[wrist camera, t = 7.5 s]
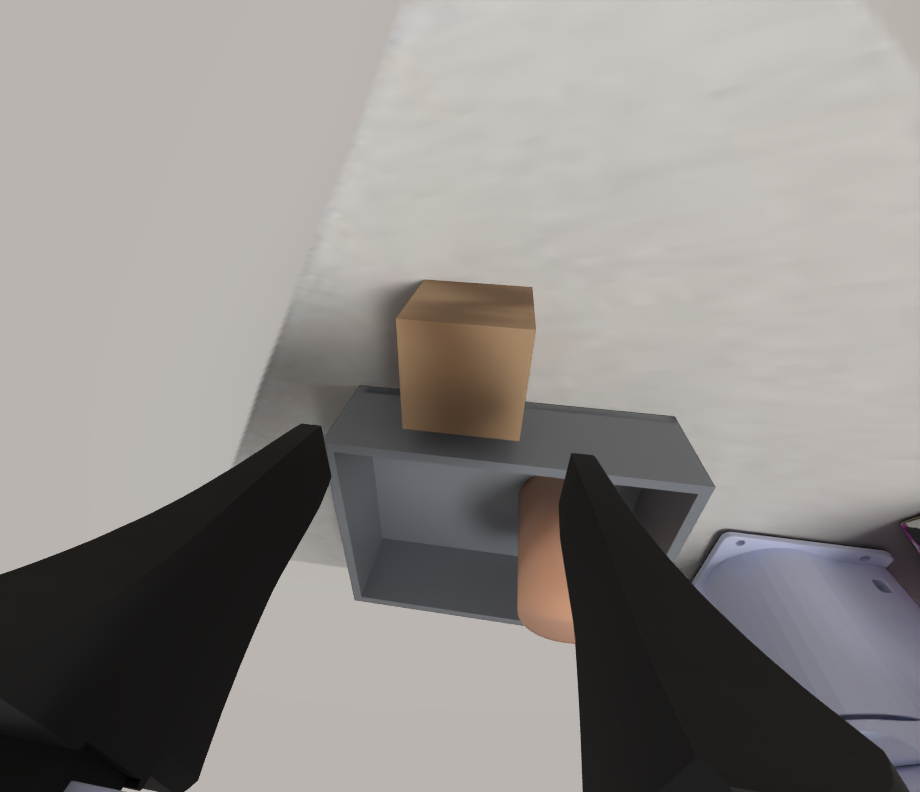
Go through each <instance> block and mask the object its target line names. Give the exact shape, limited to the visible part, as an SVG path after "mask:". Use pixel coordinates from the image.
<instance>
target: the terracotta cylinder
mask: <svg viewBox="0 0 920 792" xmlns="http://www.w3.org/2000/svg"><path fill="white" fill-rule="evenodd" d="M564 480H565V479H562V478H554V477H545V476H536V475H535V476H533V477H531V478H530V479H528V480H527V481H526V482H525V483H524V484H523V486H522V487H521V489H520V491H519V495H518V603H517V611H518V617H519V619H520V621H521V622H522V623H523V625H524V626H525V627H526V628H528V629H529V630H530V631H532V632H533V633H535V634H537V635H539V636H541V637H544V638H547V639H550V640H553V641H558V642H563V643H573V644H575V635H574V626H573V618H572V612H571V606H570V600H569V593H568V587H567V581H566V575H565V568H564V562H563V555H562V549H561V542H560V530H559V500H560V496H561V492H562V488H563V484H564Z"/></svg>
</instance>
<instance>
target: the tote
mask: <svg viewBox="0 0 920 792" xmlns="http://www.w3.org/2000/svg"><path fill="white" fill-rule="evenodd" d="M324 442H325V447H326V452H327V456H328V461H329V466H330V471H331V476H332V477H331V480H330V486H331V491H332V495H333V500H334V505H335V509H336V514H337V519H338V524H339V528H340V533H341V538H342V542H343V547H344V552H345V557H346V561H347V566H348V571H349V575H350V580H351V585H352V590H353V594H354V599H355V600H357V601H364V602H371V603H377V604H384V605H390V606H397V607H403V608H411V609H417V610H423V611H430V612H436V613H444V614H450V615H456V616H463V617H469V618H476V619H483V620H490V621H496V622H502V623H509V624H515V625H522V626H524V625H523V623H522V622H521V621H520V619H519V617H518V611H517V603H518V495H519V491H520V489H521V487H522V486H523V484H524V483H525V482H526V481H527V480H528V479H530V478H531V477H533V476H535V475H536V476H545V477H554V478H562V479H565V476H566V472H567V468H568V464H569V460H570V456H571V453H579V454H588V455H594V456H595V457H596V458H597V460H598V461H599V463H600V464H601V466H602V468H603V469H604V471H605V472H606V474H607V475H608V477H609V478H610V480H611V481H612V483H613V484H614V486H615V487H616V489H617V490H618V492H619V493H620V495H621V496H622V498H623V499H624V501H625V502H626V503H627V505H628V506H629V508H630V509H631V510H632V512H633V513H634V514H635V516H636V517H637V518H638V520H639V521H640V523H641V524H642V525H643V526H644V528H645V529H646V530H647V532H648V533H649V534H650V536H651V537H652V538H653V539H654V540H655V542H656V543H657V544H658V545H659V547H660V548H661V549H662V550H663V552H664V553H665V554H666V555H667V556H668V557H669V559H670V560H671V561H672V562H673V563H674V561H675V560H676V558H677V556H678V554H679V552H680V551H681V549H682V547H683V545H684V543H685V541H686V540H687V538H688V536H689V534H690V532H691V531H692V529H693V527H694V525H695V523H696V522H697V520H698V518H699V516H700V514H701V513H702V511H703V509H704V507H705V505H706V503H707V502H708V500H709V498H710V496H711V494H712V493H713V491H714V489H715V485H714V484H713V482H712V480H711V479H710V477H709V475H708V473H707V472H706V470H705V468H704V466H703V465H702V463H701V461H700V459H699V458H698V456H697V454H696V452H695V451H694V449H693V447H692V445H691V444H690V442H689V440H688V438H687V437H686V435H685V433H684V432H683V430H682V428H681V426H680V425H679V423H678V421H677V419H676V418H675V417H672V416H662V415H651V414H641V413H631V412H621V411H611V410H601V409H590V408H580V407H570V406H560V405H550V404H540V403H529V402H525V406H524V413H523V420H522V426H521V433H520V440H519V441H513V440H503V439H494V438H485V437H476V436H466V435H457V434H448V433H439V432H429V431H420V430H411V429H403V428H402V411H401V395H400V390H397V389H387V388H377V387H367V386H359V387H358V389H357V390H356V392H355V393H354V395H353V396H352V398H351V399H350V401H349V402H348V404H347V405H346V407H345V408H344V410H343V411H342V413H341V414H340V416H339V417H338V419H337V420H336V421H335V423H334V424H333V426H332V427H331V429H330V430H329V432H328V433H327V435H326V436H325V438H324Z"/></svg>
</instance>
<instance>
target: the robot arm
mask: <svg viewBox="0 0 920 792" xmlns="http://www.w3.org/2000/svg"><path fill="white" fill-rule="evenodd" d="M331 477H332V476H331V471H330V466H329V461H328V456H327V452H326V447H325V442H324V437H323V432H322V428H321V426H318V425H309V424H300V425H298V426H297V427H295V428H293V429H292V430H290V431H289V432H287V433H285V434H284V435H282V436H281V437H279V438H278V439H276V440H275V441H273V442H272V443H270V444H269V445H267V446H266V447H264V448H263V449H261V450H260V451H258V452H256V453H255V454H253V455H252V456H250V457H249V458H247V459H246V460H244V461H243V462H241V463H239V464H238V465H236V466H235V467H233V468H232V469H230V470H228V471H226V472H225V473H223V474H221V475H220V476H218V477H217V478H215V479H213V480H211V481H210V482H208V483H207V484H205V485H203V486H202V487H200V488H198V489H196V490H195V491H193V492H191V493H189V494H187V495H186V496H184V497H182V498H180V499H178V500H176V501H174V502H173V503H171V504H169V505H167V506H165V507H163V508H161V509H159V510H157V511H155V512H153V513H151V514H149V515H147V516H144V517H143V518H140V519H138V520H136V521H134V522H131V523H129V524H127V525H125V526H122V527H120V528H118V529H116V530H114V531H111V532H110V533H107V534H105V535H102V536H100V537H98V538H96V539H93V540H91V541H89V542H86V543H83V544H81V545H79V546H76V547H74V548H71V549H69V550H66V551H64V552H61V553H58V554H56V555H53V556H50V557H48V558H46V559H43V560H40V561H38V562H35V563H32V564H29V565H27V566H24V567H21V568H18V569H15V570H12V571H9V572H6V573H3V574H1V575H0V792H124V791H121V789H122V788H123V787H124V788H129V789H133V790H138V791H140V790H141V789H142V788H143V789H147V790H152V791H157V792H184V791H186V790H187V789H189V788H190V787H191V786H192V785H193V784H194V783H196V782H197V781H198V779H199V776H200V773H201V770H202V767H203V764H204V761H205V758H206V755H207V753H208V750H209V747H210V744H211V741H212V738H213V736H214V733H215V730H216V727H217V725H218V722H219V719H220V716H221V713H222V711H223V708H224V706H225V703H226V700H227V698H228V695H229V692H230V690H231V688H232V685H233V682H234V680H235V677H236V675H237V672H238V669H239V667H240V665H241V662H242V660H243V657H244V655H245V653H246V650H247V648H248V645H249V643H250V641H251V639H252V636H253V634H254V631H255V629H256V627H257V624H258V622H259V620H260V617H261V616H262V613H263V611H264V609H265V607H266V604H267V602H268V600H269V598H270V596H271V593H272V591H273V589H274V587H275V586H276V584H277V582H278V580H279V578H280V576H281V574H282V572H283V571H284V569H285V567H286V565H287V564H288V562H289V560H290V559H291V557H292V555H293V553H294V552H295V550H296V548H297V546H298V545H299V543H300V541H301V539H302V538H303V536H304V534H305V532H306V531H307V529H308V527H309V525H310V523H311V522H312V520H313V518H314V516H315V514H316V513H317V511H318V509H319V507H320V505H321V502H322V500H323V497H324V495H325V493H326V490H327V487H328V485H329V482H330V480H331ZM559 530H560V542H561V549H562V555H563V562H564V568H565V575H566V581H567V587H568V593H569V600H570V606H571V612H572V618H573V626H574V635H575V645H576V660H577V676H578V693H579V711H580V732H581V753H582V754H581V755H582V780H583V781H582V782H583V792H920V607H919V606H918V605H917V603H916V602H915V601H914V600H913V599H912V598H911V596H910V595H909V594H908V593H907V592H906V591H905V590H904V588H903V587H902V586H901V585H900V584H899V583H898V582H897V580H896V579H895V578H894V577H893V576H892V575H891V573H890V572H889V571H888V570H887V569H886V567H887V566H888V565H889V564H891V563H892V561H893V560H894V559H893V557H892V556H891V554H890V553H889V552H887V551H883V550H875V549H867V548H859V547H850V546H842V545H834V544H826V543H818V542H810V541H802V540H794V539H785V538H777V537H769V536H761V535H753V534H745V533H737V532H726V533H724V534H722V535H721V536H720V538H719V540H718V541H717V543H716V544H715V546H714V548H713V549H712V551H711V552H710V554H709V556H708V557H707V559H706V560H705V562H704V564H703V565H702V567H701V568H700V570H699V572H698V573H697V575H696V576H695V578H694V580H693V581H692V583H691V582H690V581H689V580H688V579H687V578H686V577H685V576H684V575H683V573H682V572H681V571H680V570H679V569H678V568H677V567H676V566H675V564H674V563H673V562H672V561H671V560H670V559H669V557H668V556H667V555H666V554H665V553H664V552H663V550H662V549H661V548H660V547H659V545H658V544H657V543H656V542H655V540H654V539H653V538H652V537H651V536H650V534H649V533H648V532H647V530H646V529H645V528H644V526H643V525H642V524H641V523H640V521H639V520H638V518H637V517H636V516H635V514H634V513H633V512H632V510H631V509H630V508H629V506H628V505H627V503H626V502H625V501H624V499H623V498H622V496H621V495H620V493H619V492H618V490H617V489H616V487H615V486H614V484H613V483H612V481H611V480H610V478H609V477H608V475H607V474H606V472H605V471H604V469H603V468H602V466H601V464H600V463H599V461H598V460H597V458H596V457H595V456H594V455H588V454H579V453H571V456H570V460H569V464H568V468H567V472H566V476H565V480H564V484H563V488H562V492H561V496H560V500H559Z"/></svg>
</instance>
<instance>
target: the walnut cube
mask: <svg viewBox="0 0 920 792" xmlns="http://www.w3.org/2000/svg"><path fill="white" fill-rule="evenodd" d="M396 331H397V347H398V363H399V379H400V395H401V411H402V428H403V429H411V430H420V431H429V432H439V433H448V434H457V435H466V436H476V437H485V438H494V439H503V440H513V441H519V440H520V433H521V426H522V420H523V413H524V406H525V400H526V393H527V386H528V379H529V373H530V366H531V359H532V353H533V346H534V339H535V333H536V325H535V314H534V302H533V290H532V287H521V286H507V285H493V284H479V283H465V282H451V281H437V280H424V281H423V282H422V283H421V285H420V286H419V287H418V289H417V290H416V292H415V293H414V294H413V296H412V297H411V298H410V300H409V301H408V302H407V304H406V305H405V307H404V308H403V309H402V311H401V312H400V313H399V315H398V316H397V318H396Z"/></svg>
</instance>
